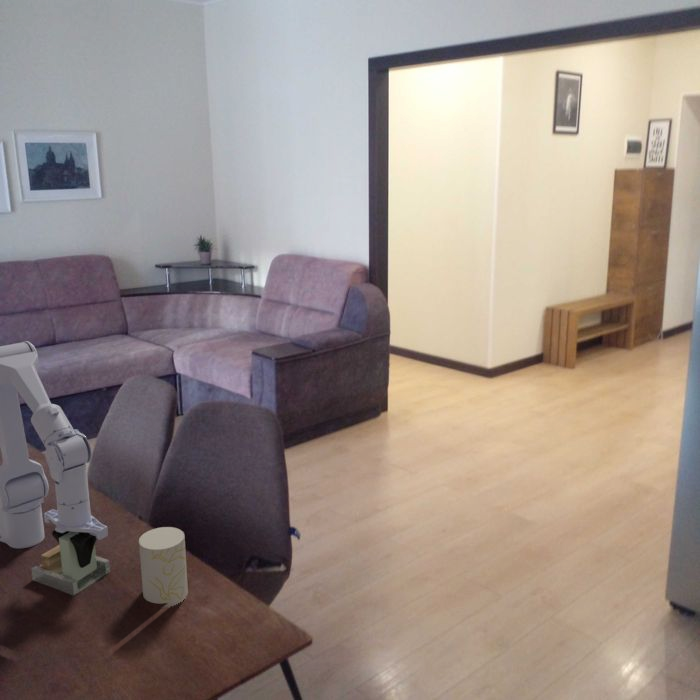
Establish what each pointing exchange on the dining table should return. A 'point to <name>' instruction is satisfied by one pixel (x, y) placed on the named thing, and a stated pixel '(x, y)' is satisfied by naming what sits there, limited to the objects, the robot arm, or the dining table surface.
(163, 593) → the cup
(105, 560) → the rack
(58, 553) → the offcut stack
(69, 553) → the sage green tall pillar
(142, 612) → the dining table surface
